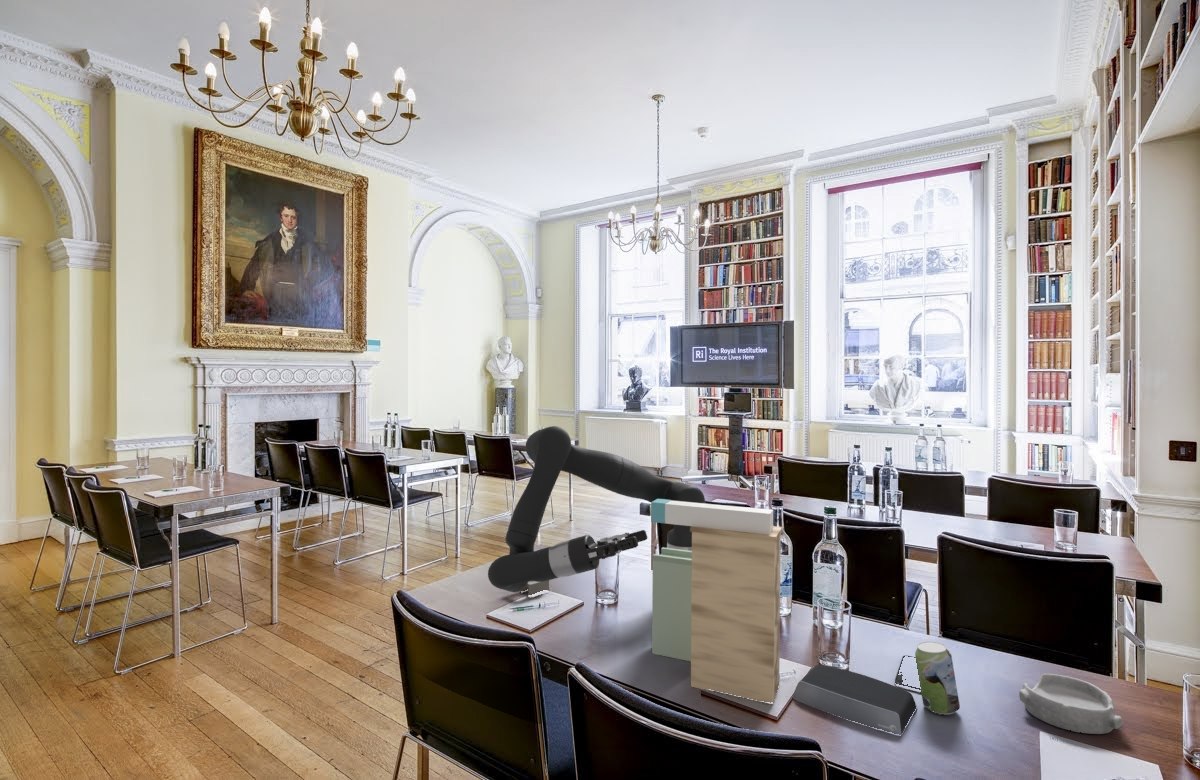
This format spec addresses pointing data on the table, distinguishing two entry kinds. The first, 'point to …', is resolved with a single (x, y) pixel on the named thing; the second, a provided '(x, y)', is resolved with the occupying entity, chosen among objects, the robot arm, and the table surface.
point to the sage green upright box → (672, 603)
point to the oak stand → (736, 612)
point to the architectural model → (536, 587)
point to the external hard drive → (856, 698)
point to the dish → (1071, 704)
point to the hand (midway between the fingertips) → (641, 537)
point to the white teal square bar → (712, 516)
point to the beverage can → (937, 678)
